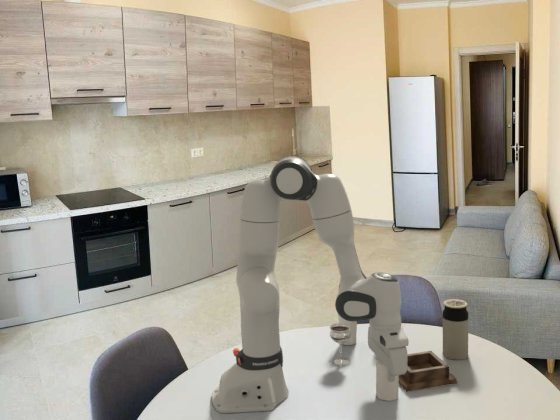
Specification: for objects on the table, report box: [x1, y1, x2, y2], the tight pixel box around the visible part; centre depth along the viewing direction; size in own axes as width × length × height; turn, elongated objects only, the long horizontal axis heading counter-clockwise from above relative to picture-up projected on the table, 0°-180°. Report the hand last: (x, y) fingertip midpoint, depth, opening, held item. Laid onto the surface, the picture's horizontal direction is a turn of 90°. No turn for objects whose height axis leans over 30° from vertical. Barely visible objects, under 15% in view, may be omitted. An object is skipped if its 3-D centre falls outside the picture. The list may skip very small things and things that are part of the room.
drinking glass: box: [337, 313, 358, 346], centre depth 190 cm, size 7×7×15 cm
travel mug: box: [442, 298, 469, 361], centre depth 176 cm, size 8×8×18 cm
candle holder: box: [398, 350, 458, 392], centre depth 164 cm, size 16×14×5 cm
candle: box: [375, 358, 400, 402], centre depth 154 cm, size 6×6×15 cm
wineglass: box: [329, 322, 351, 366], centre depth 176 cm, size 7×7×12 cm
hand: (386, 375), depth 154 cm, fingers closed on candle, 5 cm apart
